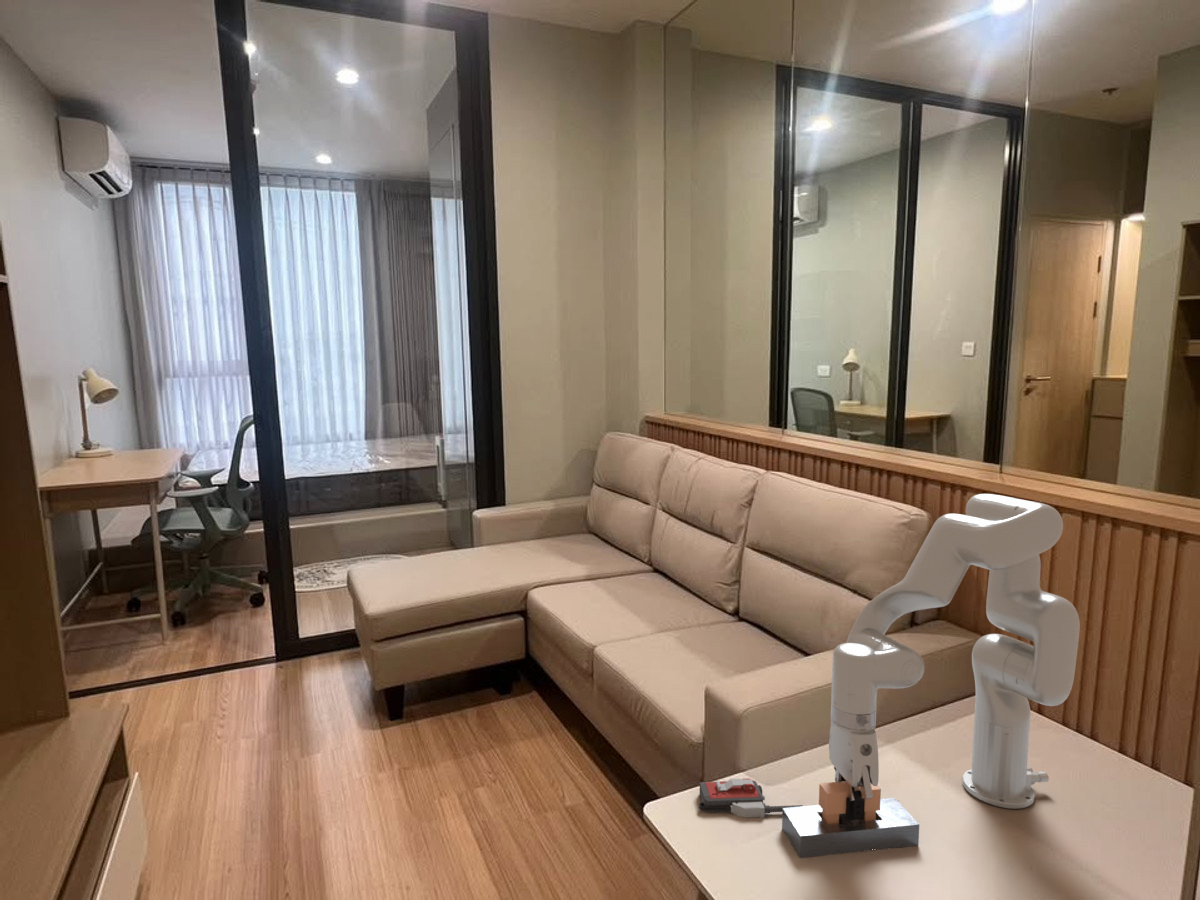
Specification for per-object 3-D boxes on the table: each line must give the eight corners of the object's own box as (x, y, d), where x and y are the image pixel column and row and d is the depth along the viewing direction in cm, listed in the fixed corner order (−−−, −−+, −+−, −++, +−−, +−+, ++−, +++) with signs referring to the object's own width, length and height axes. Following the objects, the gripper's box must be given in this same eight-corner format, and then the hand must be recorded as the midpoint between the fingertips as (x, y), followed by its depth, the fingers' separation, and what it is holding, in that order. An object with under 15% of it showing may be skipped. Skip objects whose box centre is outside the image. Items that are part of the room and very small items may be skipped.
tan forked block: (869, 825, 131) (871, 778, 130) (878, 836, 128) (880, 789, 127) (818, 830, 130) (819, 783, 129) (825, 841, 127) (827, 793, 126)
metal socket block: (893, 817, 134) (894, 797, 134) (918, 845, 126) (919, 824, 126) (782, 828, 131) (782, 808, 131) (799, 857, 124) (800, 836, 123)
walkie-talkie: (701, 822, 134) (806, 818, 135) (701, 800, 134) (806, 796, 134) (692, 794, 143) (791, 790, 144) (693, 773, 142) (792, 770, 143)
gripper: (898, 736, 119) (893, 839, 121) (850, 692, 135) (847, 784, 137) (855, 740, 118) (851, 844, 120) (813, 695, 134) (810, 787, 136)
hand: (849, 811), depth 128 cm, fingers closed on tan forked block, 3 cm apart
